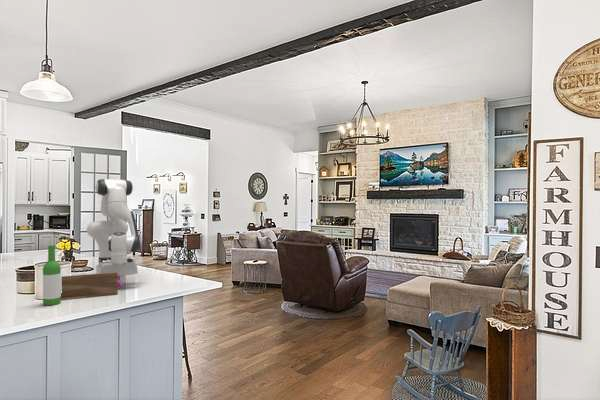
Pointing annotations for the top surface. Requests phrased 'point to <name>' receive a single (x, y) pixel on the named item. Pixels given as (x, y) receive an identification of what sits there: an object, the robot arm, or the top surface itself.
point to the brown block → (89, 285)
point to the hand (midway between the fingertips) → (119, 282)
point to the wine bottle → (51, 279)
